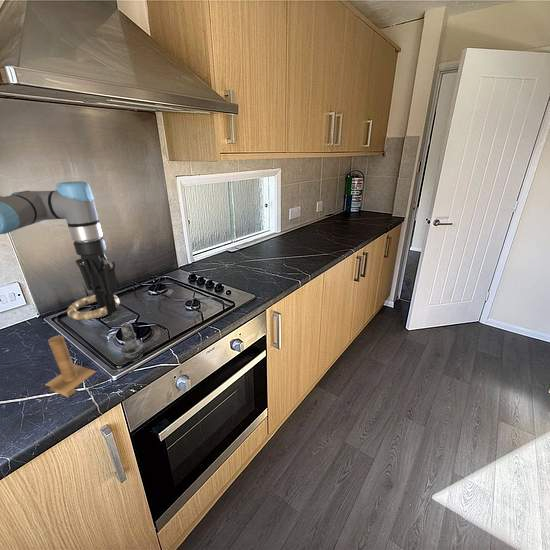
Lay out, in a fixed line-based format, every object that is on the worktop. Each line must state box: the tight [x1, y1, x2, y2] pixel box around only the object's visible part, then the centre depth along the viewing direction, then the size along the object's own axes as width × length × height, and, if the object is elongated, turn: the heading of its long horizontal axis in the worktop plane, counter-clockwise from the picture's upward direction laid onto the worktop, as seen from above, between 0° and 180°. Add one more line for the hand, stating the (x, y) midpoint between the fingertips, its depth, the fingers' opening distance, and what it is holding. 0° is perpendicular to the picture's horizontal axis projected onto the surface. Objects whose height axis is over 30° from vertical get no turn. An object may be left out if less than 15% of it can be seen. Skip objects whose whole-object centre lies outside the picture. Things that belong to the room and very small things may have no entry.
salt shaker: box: [120, 321, 144, 362], centre depth 82 cm, size 6×6×12 cm
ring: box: [66, 294, 121, 321], centre depth 93 cm, size 14×14×2 cm
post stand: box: [44, 334, 97, 398], centre depth 73 cm, size 8×8×14 cm
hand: (108, 311), depth 92 cm, fingers closed on ring, 2 cm apart
